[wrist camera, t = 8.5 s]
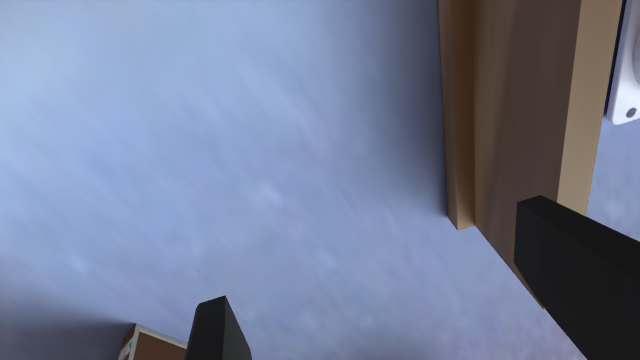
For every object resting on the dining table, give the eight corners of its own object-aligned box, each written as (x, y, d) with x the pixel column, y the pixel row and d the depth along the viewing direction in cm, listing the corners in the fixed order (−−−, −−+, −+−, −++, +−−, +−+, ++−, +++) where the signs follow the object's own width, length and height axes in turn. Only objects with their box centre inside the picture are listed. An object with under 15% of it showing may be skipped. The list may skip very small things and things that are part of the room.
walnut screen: (525, -371, 13) (759, -526, 8) (503, 200, 25) (592, 293, 19) (421, -349, 13) (590, -494, 8) (448, 218, 24) (522, 317, 19)
